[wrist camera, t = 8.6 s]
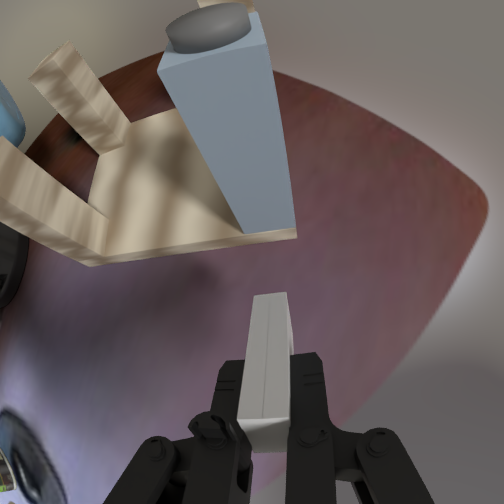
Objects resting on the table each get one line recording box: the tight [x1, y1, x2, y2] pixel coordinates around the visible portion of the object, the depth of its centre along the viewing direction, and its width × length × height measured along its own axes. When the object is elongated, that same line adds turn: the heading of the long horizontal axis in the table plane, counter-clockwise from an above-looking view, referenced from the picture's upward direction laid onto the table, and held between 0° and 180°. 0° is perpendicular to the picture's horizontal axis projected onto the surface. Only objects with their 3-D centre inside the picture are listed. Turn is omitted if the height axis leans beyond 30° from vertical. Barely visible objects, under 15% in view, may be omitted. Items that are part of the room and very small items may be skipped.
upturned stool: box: [0, 0, 297, 267], centre depth 20 cm, size 22×18×17 cm
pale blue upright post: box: [157, 2, 296, 234], centre depth 15 cm, size 4×4×16 cm
